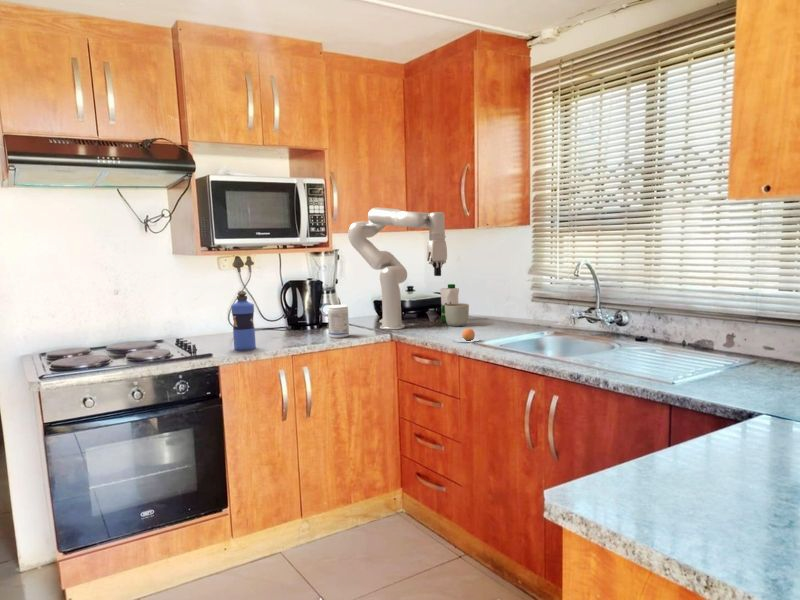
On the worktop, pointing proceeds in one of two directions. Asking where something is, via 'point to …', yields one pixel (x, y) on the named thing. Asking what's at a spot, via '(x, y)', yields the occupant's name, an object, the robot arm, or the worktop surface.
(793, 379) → the worktop surface
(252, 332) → the water bottle
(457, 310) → the planter
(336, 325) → the supplement tub
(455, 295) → the milk carton
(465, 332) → the ball
